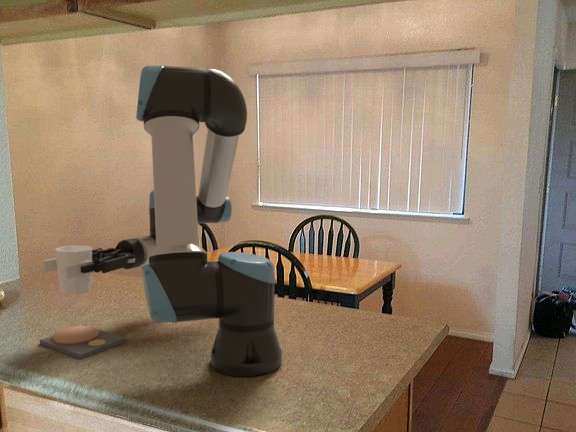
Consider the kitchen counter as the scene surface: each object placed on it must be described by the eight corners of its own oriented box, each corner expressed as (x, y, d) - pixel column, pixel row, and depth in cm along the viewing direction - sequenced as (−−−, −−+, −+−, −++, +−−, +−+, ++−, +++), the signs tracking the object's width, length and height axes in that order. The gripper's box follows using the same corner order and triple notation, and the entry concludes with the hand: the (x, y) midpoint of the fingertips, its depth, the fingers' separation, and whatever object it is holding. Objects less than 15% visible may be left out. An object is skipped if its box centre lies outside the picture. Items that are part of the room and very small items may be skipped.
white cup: (97, 285, 124) (95, 244, 123) (89, 295, 116) (87, 251, 115) (62, 286, 123) (60, 245, 121) (52, 296, 115) (50, 252, 114)
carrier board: (125, 341, 120) (125, 334, 120) (80, 359, 110) (80, 351, 110) (85, 329, 128) (85, 322, 128) (39, 343, 118) (39, 336, 118)
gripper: (164, 272, 128) (84, 293, 109) (110, 261, 140) (29, 278, 121) (163, 242, 127) (82, 258, 108) (110, 234, 139) (27, 247, 120)
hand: (54, 269), depth 115 cm, fingers closed on white cup, 8 cm apart
